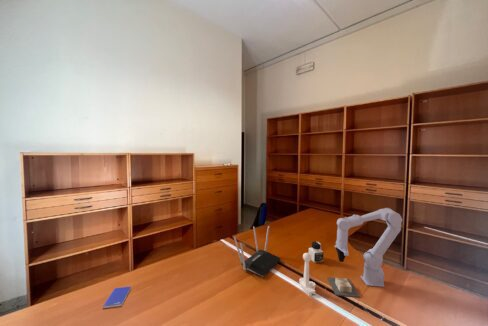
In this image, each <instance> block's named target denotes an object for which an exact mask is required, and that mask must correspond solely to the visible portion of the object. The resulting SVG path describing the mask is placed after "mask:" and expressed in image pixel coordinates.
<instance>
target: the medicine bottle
mask: <svg viewBox="0 0 488 326" xmlns="http://www.w3.org/2000/svg"><path fill="white" fill-rule="evenodd" d="M308 253H309V254H310V255H311V260H310V261H312V262H313V263H315V264H316V263H322V262H324V255H325V254H324V253H325V252H324V250H322V243H321V242H319V241H312V242H311V247H309V248H308Z"/></svg>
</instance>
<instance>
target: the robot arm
mask: <svg viewBox="0 0 488 326" xmlns="http://www.w3.org/2000/svg"><path fill="white" fill-rule="evenodd" d="M374 220H381V221H385V222H386V225H387V227H386V229H384V231H383V233H382V234H381V236H380V237H379V239H378V240H377V242H376V243H375V245H374V246H373V248H370V249H368V250H367V251H365V252H364V254H363V255H362V258H363V260H364V265H363V275H360V279H361V280H362V282H364V284H365V285H366V286H369V287H370V286H371V287H381V288H382V287H385V272H384V269H383V268H382V263H383V262H384V258H383V256H384V255H385V253H386V252H387V251H388V249H389V247H390V246H391V244H392V243H393V241H395V239H396V237H397V236H398V235H399V234H400V232H401V231H402V223H403V220H404V219H403V218H402V216H401V214H400V213H398V212H396V211H395V210H393V209H391V207H384V208H380V209H377V210H375V211H373V212H369V213H366V214H363V215H359V214H352V216H348V217H347V216H345V217H340V218H338V219H337V221H336V225H337V230H336V240H335V245H334V248H335V250H336V253H337V256H338V261H339V262H340V263H343V262H344V261H345V258H346V257H349V248H348V242H349V241H348V239H349V230H350V229H351V228H354V227H358V226H361V225H363V223H365V222H369V221H374Z"/></svg>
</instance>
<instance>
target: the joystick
mask: <svg viewBox="0 0 488 326" xmlns="http://www.w3.org/2000/svg"><path fill="white" fill-rule="evenodd" d="M302 259H303V261H304V269H303V277H300V278H299V280H298V282H299V285H300V288H301V290H302V291H303V292H304V293H305V294H306V295H307V296H309V297H311V296H313V295H316V290H315V289H316V283H315V282H313V281H311V280H310V262H311V261H312V260H311V255H310V254H309V252H304V253H303V255H302Z"/></svg>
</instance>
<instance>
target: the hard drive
mask: <svg viewBox="0 0 488 326" xmlns="http://www.w3.org/2000/svg"><path fill="white" fill-rule="evenodd" d="M131 289H132V287H131V286H123V287H114V289H113V290H112V292H110V294H109V296H108V297H107V299H106V301H105V302H104V303H103V306H102V309H106V308H107V309H108V308H115V307H121V306H123V304H124V302H125V300H126V298H127V296H128V295H129V292H130V291H131Z"/></svg>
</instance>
